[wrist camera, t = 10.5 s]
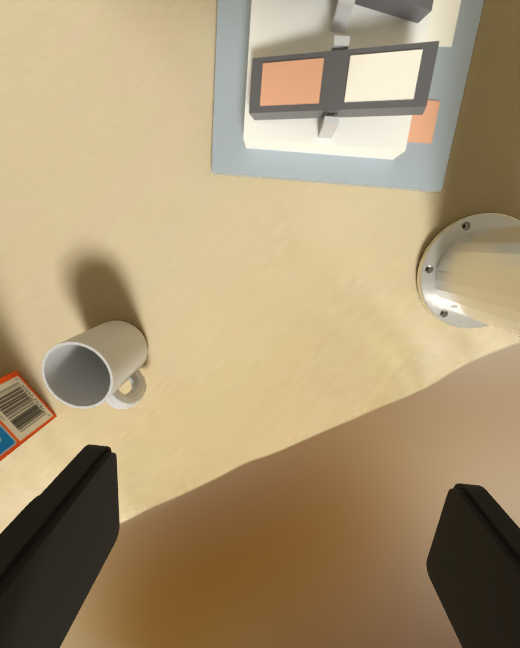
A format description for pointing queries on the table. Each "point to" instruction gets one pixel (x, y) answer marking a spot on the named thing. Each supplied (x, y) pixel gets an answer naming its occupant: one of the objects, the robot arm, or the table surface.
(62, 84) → the table surface
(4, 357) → the table surface
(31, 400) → the orange cereal box
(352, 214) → the table surface
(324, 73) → the rocker
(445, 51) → the switch unit
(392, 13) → the rocker
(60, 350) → the cup
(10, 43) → the table surface
